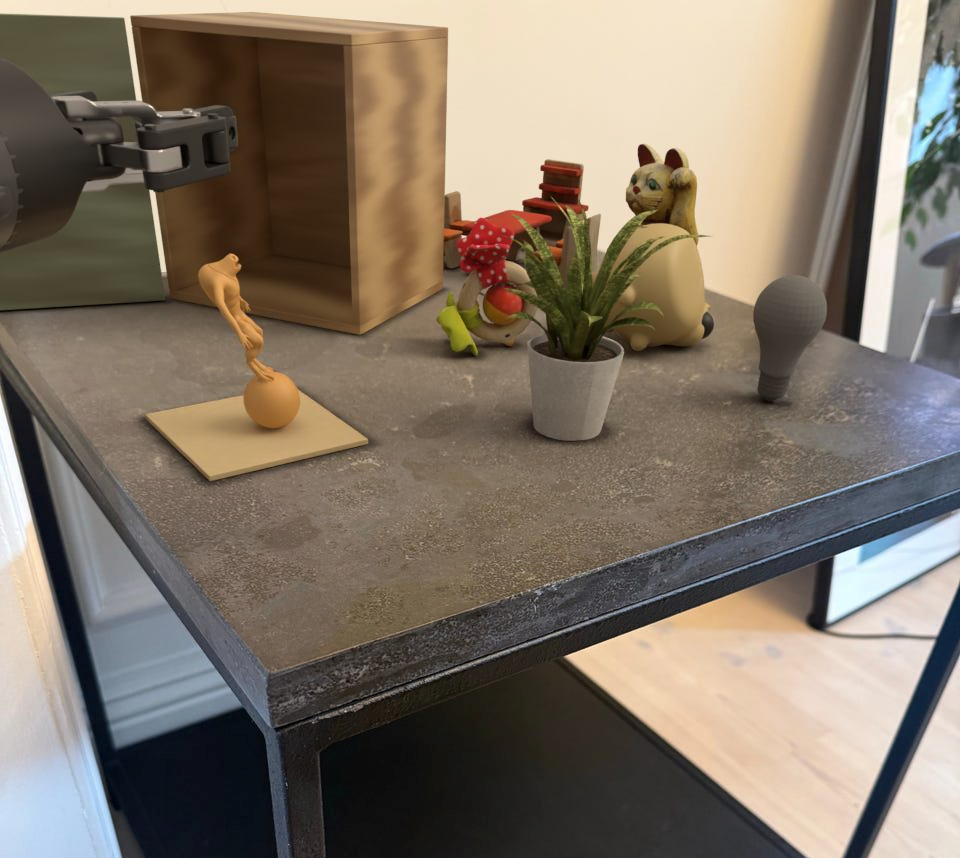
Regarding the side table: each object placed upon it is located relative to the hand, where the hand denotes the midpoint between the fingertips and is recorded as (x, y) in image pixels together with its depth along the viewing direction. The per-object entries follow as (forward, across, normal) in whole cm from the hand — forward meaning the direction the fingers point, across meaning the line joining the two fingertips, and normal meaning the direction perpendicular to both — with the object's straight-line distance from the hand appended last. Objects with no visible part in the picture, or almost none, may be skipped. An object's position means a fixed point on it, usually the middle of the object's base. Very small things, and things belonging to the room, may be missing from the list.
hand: (160, 120), depth 52 cm
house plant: (+18, -22, +21) cm, 35 cm away
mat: (+6, 0, +21) cm, 22 cm away
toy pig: (+40, -23, +21) cm, 50 cm away
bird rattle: (+32, -10, +21) cm, 39 cm away
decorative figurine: (+54, -22, +21) cm, 62 cm away
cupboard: (+40, +12, +21) cm, 46 cm away
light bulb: (+29, -35, +21) cm, 51 cm away
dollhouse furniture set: (+62, -4, +21) cm, 66 cm away
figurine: (+6, -1, +21) cm, 22 cm away
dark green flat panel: (+26, +34, +21) cm, 48 cm away
